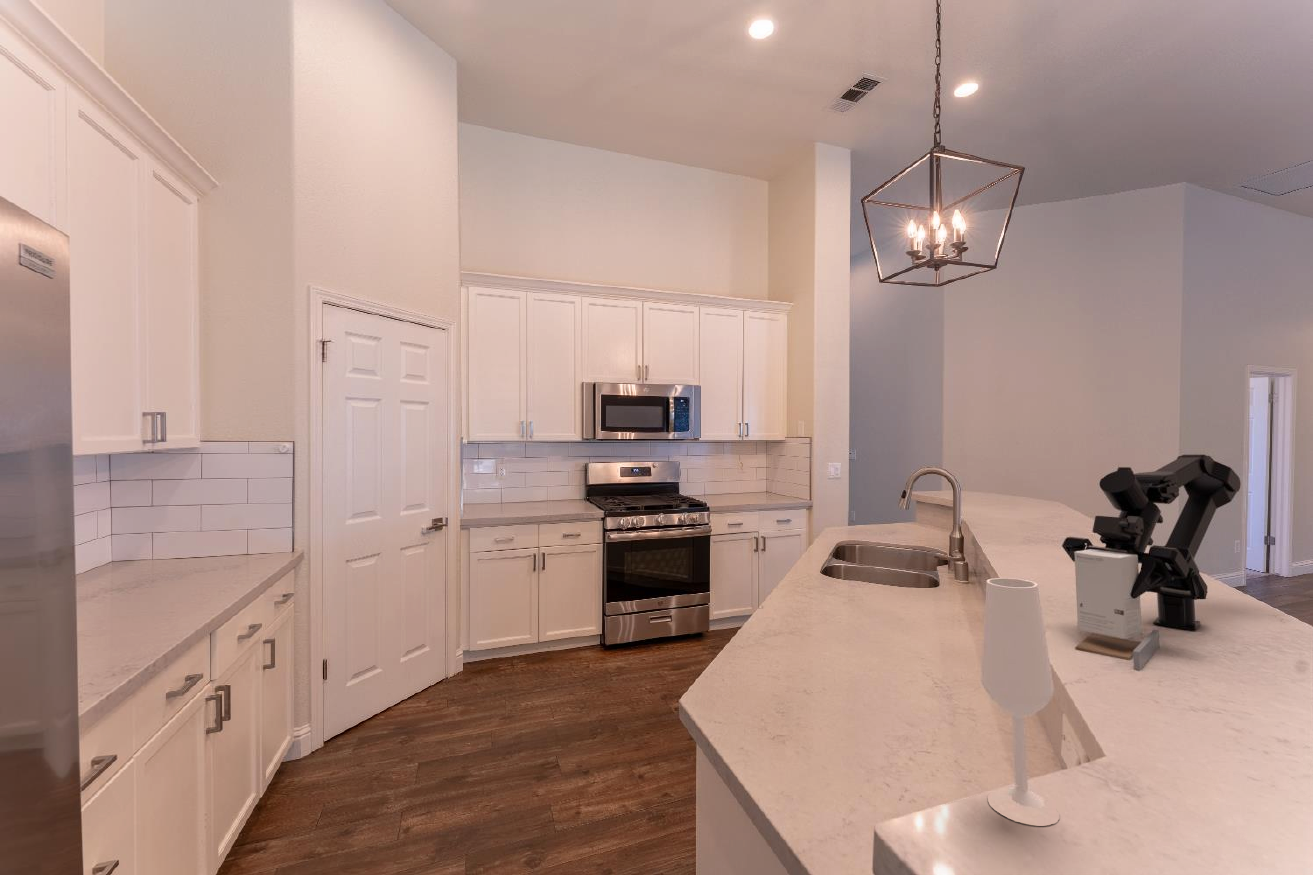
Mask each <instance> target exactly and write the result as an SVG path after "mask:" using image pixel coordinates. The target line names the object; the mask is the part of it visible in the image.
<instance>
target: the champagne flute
mask: <svg viewBox="0 0 1313 875" xmlns="http://www.w3.org/2000/svg"><path fill="white" fill-rule="evenodd" d="M985 586H986V587H985V588H986V589H985V601H984V602H985V603H984V604H985V606H984V621H983V622H984V623H983V639H982V656H981V674H980V675H981V676H980V681H981V685H982V687H983V688H984V690H985V692H986V693H987V694H988V696H989V697H990V698H991V700H993V702H995V703H996V704H997V705H998V707H999V708H1001V709H1002V710H1003V711H1004V712H1005V713H1007V714H1009V715H1010V716H1011V727H1012V730H1011V731H1012V747H1013V765H1014V767H1013V768H1014V769H1013V770H1014V786H1012V788H1010V787H1008V788H1009V791H1006V792H1005V793H1004V794H1007V795H1010V796H1012V800H1013V801H1015V802H1016V803H1019V804H1020V805H1023V806H1027V807H1028V806H1030V807H1033V808H1041V807H1043V806H1044V803H1043V801H1044V800H1043V799H1044V798H1043V797H1041V796H1040V797H1039V795H1038V794H1037V793H1035V792H1033V791H1031V790H1029V785H1028V784H1029V781H1028V780H1029V779H1028V764H1027V763H1028V761H1027V759H1028V758H1027V744H1026V743H1027V740H1026V725H1025V724H1026V722H1025V721H1026V719H1025V718H1029V717H1031V716H1033V715H1034V714H1036V713H1037V712H1039V711H1041V710H1042V709H1044V708H1045V707H1046V706H1047V705H1048V704H1049V703H1050V701H1051V700H1052V698H1053V696H1054V694H1055V693H1054V692H1055V686H1054V682H1053V674H1052V669H1051V662H1050V655H1049V650H1048V643H1047V636H1046V631H1045V623H1044V618H1043V612H1042V605H1041V598H1040V597H1041V596H1040V593H1039V592H1040V591H1039V585H1038V583H1036V582H1035V581H1031V580H1026V579H1021V578H1013V577H995V578H989V579H986V585H985ZM1015 785H1017V786H1015ZM1006 790H1007V789H1006ZM1003 791H1005V790H1003ZM1042 798H1043V799H1042Z"/></svg>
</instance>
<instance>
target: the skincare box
mask: <svg viewBox="0 0 1313 875" xmlns="http://www.w3.org/2000/svg"><path fill="white" fill-rule="evenodd" d="M1074 553H1075V562H1074V567H1075V568H1074V573H1075V591H1076V592H1075V593H1076V614H1077V616H1076V617H1077V618H1076V619H1077V628H1078V630H1079V631H1082V632H1088V633H1091V634H1092V633H1093V634H1099V635H1105V636H1110V637H1116V638H1120V639H1127V640H1130V639H1131V638H1132V639H1133V638H1135V637H1139V636H1141V635H1143V627H1142V610H1141V608H1142V607H1141V606H1142V605H1141V595H1140V596H1139V597H1137V598H1136V599H1134V598H1132V597H1131V591H1132V588H1133V585H1134V583H1135V581H1136V579H1137V577H1138V575H1139V572H1140V570H1139V563H1138V555H1134V554H1127V553H1120V552H1113V551H1103V550H1093V549H1089V550H1083V551H1076V552H1074Z"/></svg>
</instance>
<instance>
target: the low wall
mask: <svg viewBox="0 0 1313 875" xmlns="http://www.w3.org/2000/svg"><path fill="white" fill-rule="evenodd" d="M1140 642H1141V643H1140V644H1139V645H1138V646H1137V647H1136V648H1135V650H1134V651H1133V657H1132V660H1133V670H1136V671H1141V670H1142V669H1143V668H1144V666H1145V665H1146V664H1147V663H1148V661H1149V660H1150V659H1151V658H1152V657H1153V656H1154V654H1155V653H1156V652H1157V651H1158V650H1159V649H1160V647H1161V640H1160V630H1159V629H1154V628H1153V629H1152V630H1151V632H1150V633H1149V634H1147V635H1146V637H1145V638H1143V640H1142V641H1140Z"/></svg>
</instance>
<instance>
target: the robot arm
mask: <svg viewBox="0 0 1313 875" xmlns="http://www.w3.org/2000/svg"><path fill="white" fill-rule="evenodd" d="M1098 484H1099V487H1100V489H1101V491H1102V492H1103V493H1104V495H1105V496H1106V498H1107V500H1108V501H1109V503H1110V505H1112V507H1113V508H1114V509H1115V510H1118V511H1120V512H1119V515H1118V516H1106V515H1105V516H1104V515H1095V517H1094V522H1093V526H1092V533H1094V534H1096V535H1098V536H1100V538H1099V541H1100V542H1101V543H1102V544H1105V546H1098V545H1097V546H1095V545H1093V543H1092V541H1091V540H1090V539H1089V538H1085V537H1075V536H1067V537H1066V538H1065V539H1064V540H1063V542H1062V545H1061V547H1062V548H1063V550H1064V551H1065V552H1066V554H1067V555H1068V557H1069V558H1070V560H1071V561H1072V562H1074V563H1075V553H1074V552H1076V551H1083V550H1089V549H1093V550H1103V551H1113V552H1120V553H1127V554H1134V555H1138V564H1141V566H1140V570H1139V575H1138V577H1137V579H1136V581H1135V583H1134V585H1133V588H1132V591H1131V597H1132V598H1134V599H1136V598H1137V597H1139V596H1140V597H1141V596H1142V595H1143V594H1145V593H1146V592H1148V593H1155V594H1156V596H1157V617H1156V618H1155V619H1154V620H1153V621H1152V622H1153V625H1156V626H1157V625H1158V626H1163V627H1169V628H1177V629H1182V630H1188V631H1197V629H1198V628H1199V627H1200V626H1201V623H1202V622H1201V621H1200V620H1196V607H1195V605H1196V604H1195V601H1198V600H1207V596H1208V585H1207V584H1206V582H1205V580H1204V579H1203V576H1201V574H1200V569H1199V567H1198V565H1197V563H1196V561H1195V557H1196V555H1197V553H1198V551H1199V548H1200V546H1201V544H1202V542H1203V539H1204V537H1205V535H1206V533H1207V531H1208V528H1209V527H1210V524H1211V522H1212V519H1213V517H1214V515H1215V513H1216V511H1217V509H1219V508H1221V507H1223V506H1226V505H1227V504H1230V502H1232V501H1233V499H1234V497H1235V496H1236V495H1237V493H1238V492H1240V489H1241V479H1240V477H1239V475H1238V474H1237V472H1235V471H1234V469H1233V468H1232V467H1230V466H1227V465H1225V464H1223V463H1221V462H1218V461H1217V460H1214V459H1213V458H1212V456H1210V455H1206V454H1182V455H1178V456H1177V457H1176V459H1174V460H1173V461H1171V462H1169V463H1168V464H1166V465H1163V466H1162V467H1160V468H1158V469H1156V470H1155V471H1144V472H1143V471H1142V472H1138V473H1137V472H1136V473H1134V471H1133V470H1132V467H1131V466H1125V467H1124V466H1123V467H1122V466H1121V467H1120V466H1119V467H1117V470H1116V471H1113V472H1110V473H1108V474H1106V475H1104V476H1103V477H1102V478H1100V481H1099V483H1098ZM1182 487H1183V488H1184V490H1185V492H1186V494H1187V495H1188V497H1187V499H1186V501H1185V504H1184V506H1183V507H1182V510H1181V512H1180V514H1179V516H1178V518H1177V520H1176V522H1175V525H1174V526H1173V529H1172V530H1171V532H1170V535H1169V537H1168V539H1167V541H1166V543H1165V545H1154V544H1153V543H1154V539H1153V538H1152V535H1153V533H1154V529H1155V528H1156V525H1157V524H1163V522H1164V518H1163V516H1162V511H1161V509H1160V508H1159V507H1158V505H1159V504H1163V505H1171V504H1172V503H1173V502H1174V501H1175V500H1176V499H1177V498H1178V497H1179V496H1180V488H1182ZM1157 504H1158V505H1157ZM1148 546H1150V547H1149V549H1148V552H1146V550H1147V547H1148Z"/></svg>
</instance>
